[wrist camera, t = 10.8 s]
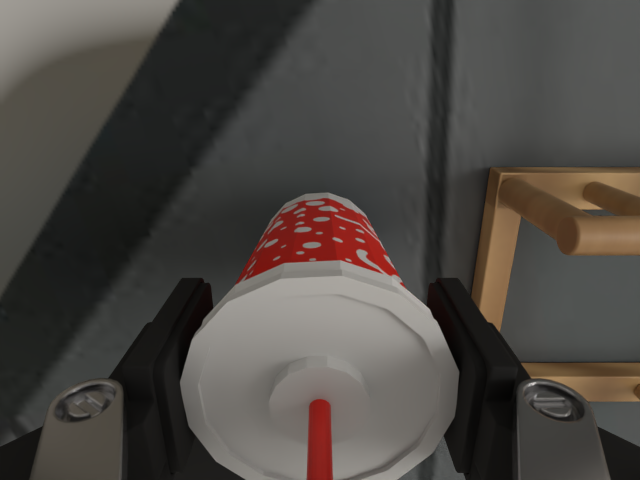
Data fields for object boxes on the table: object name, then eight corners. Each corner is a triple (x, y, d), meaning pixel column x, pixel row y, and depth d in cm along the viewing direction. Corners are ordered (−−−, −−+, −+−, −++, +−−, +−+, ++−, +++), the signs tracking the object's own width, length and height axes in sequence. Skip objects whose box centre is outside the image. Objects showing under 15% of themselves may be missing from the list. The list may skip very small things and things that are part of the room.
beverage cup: (404, 291, 18) (613, 824, 5) (271, 321, 19) (161, 869, 6) (377, 156, 16) (615, 493, 3) (226, 194, 17) (-105, 615, 4)
